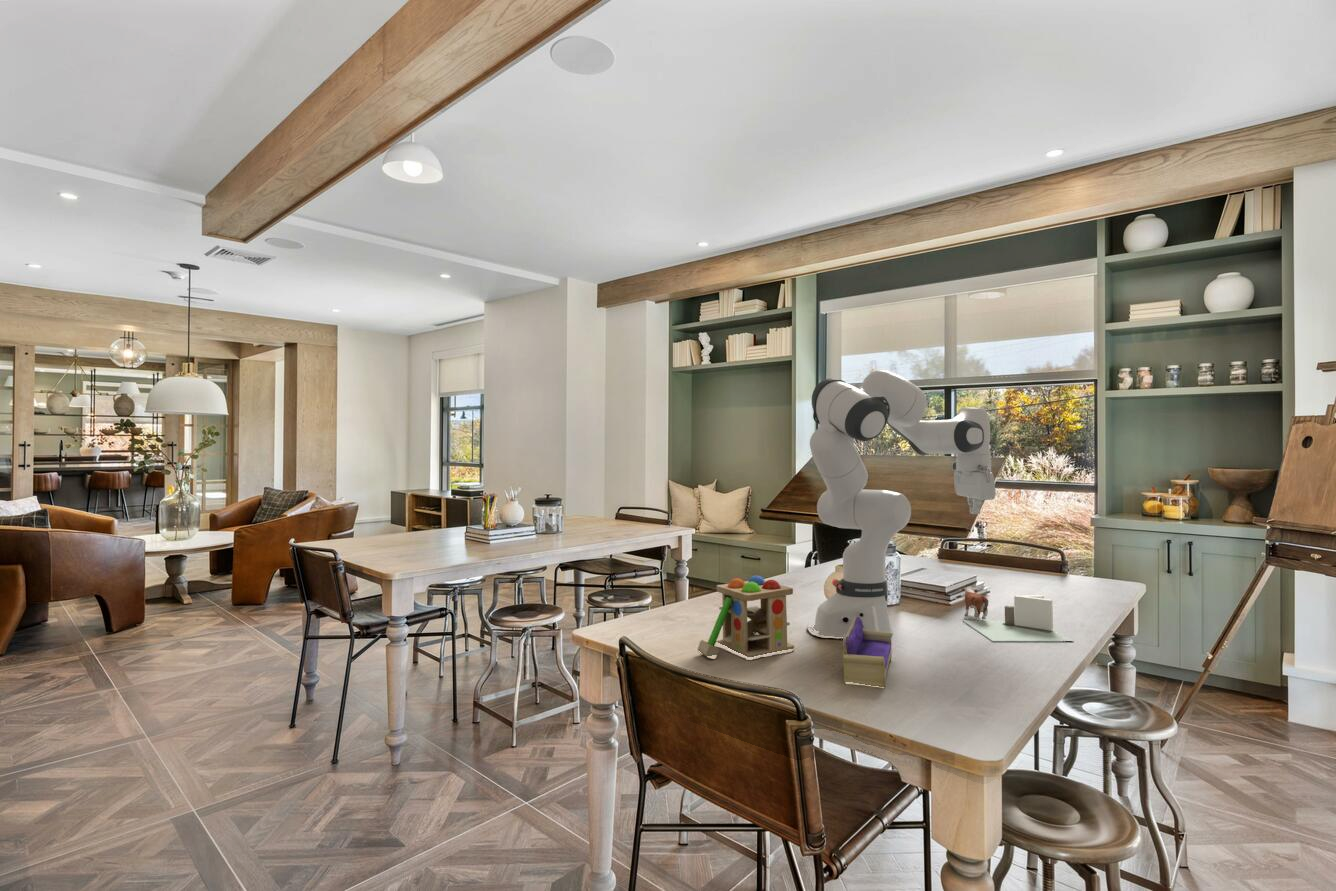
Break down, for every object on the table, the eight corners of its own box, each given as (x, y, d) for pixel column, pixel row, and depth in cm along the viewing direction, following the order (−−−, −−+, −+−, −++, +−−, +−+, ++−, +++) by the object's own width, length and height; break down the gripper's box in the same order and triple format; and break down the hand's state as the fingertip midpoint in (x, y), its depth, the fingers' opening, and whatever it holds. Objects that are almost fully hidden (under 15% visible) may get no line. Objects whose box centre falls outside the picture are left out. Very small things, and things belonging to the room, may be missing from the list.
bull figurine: (974, 612, 199) (973, 585, 200) (991, 622, 186) (991, 593, 186) (959, 612, 200) (958, 585, 200) (975, 621, 186) (975, 592, 187)
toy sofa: (885, 691, 137) (884, 641, 137) (842, 685, 140) (841, 637, 140) (893, 660, 156) (892, 617, 156) (855, 656, 160) (854, 614, 160)
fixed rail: (1007, 625, 182) (1006, 596, 182) (1003, 623, 185) (1002, 595, 185) (1045, 625, 181) (1044, 596, 182) (1041, 623, 184) (1040, 594, 184)
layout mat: (992, 642, 169) (992, 640, 169) (963, 621, 189) (963, 620, 189) (1073, 642, 167) (1073, 640, 167) (1035, 621, 187) (1035, 620, 187)
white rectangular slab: (1014, 625, 182) (1014, 596, 182) (1016, 623, 183) (1015, 595, 183) (1051, 630, 176) (1050, 600, 176) (1053, 629, 177) (1052, 599, 177)
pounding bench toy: (719, 668, 153) (717, 591, 153) (687, 652, 165) (685, 581, 165) (795, 651, 164) (794, 579, 164) (760, 638, 177) (759, 571, 177)
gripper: (1001, 465, 176) (1002, 517, 175) (971, 463, 196) (972, 510, 196) (977, 466, 176) (978, 517, 176) (949, 464, 196) (950, 510, 196)
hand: (975, 513), depth 186 cm, fingers closed
